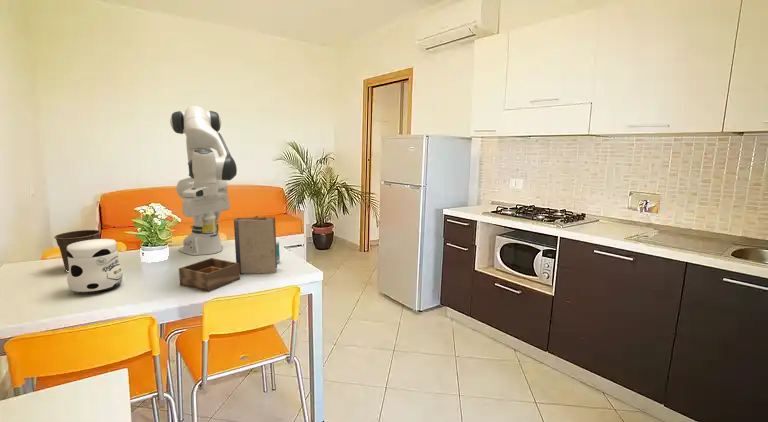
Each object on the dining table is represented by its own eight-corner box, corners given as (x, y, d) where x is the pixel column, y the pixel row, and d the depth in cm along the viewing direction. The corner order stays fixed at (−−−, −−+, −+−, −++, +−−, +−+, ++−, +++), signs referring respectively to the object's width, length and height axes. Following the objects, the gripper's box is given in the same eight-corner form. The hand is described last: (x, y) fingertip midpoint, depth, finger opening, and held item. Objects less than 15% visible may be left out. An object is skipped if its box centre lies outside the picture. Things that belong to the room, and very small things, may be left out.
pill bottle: (282, 260, 193) (281, 233, 190) (276, 265, 185) (275, 237, 183) (267, 260, 193) (266, 233, 191) (261, 264, 186) (259, 236, 184)
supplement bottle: (210, 232, 164) (209, 209, 163) (220, 233, 162) (218, 210, 160) (199, 235, 159) (197, 211, 158) (208, 236, 157) (206, 212, 155)
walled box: (180, 285, 159) (178, 268, 158) (212, 273, 173) (211, 258, 172) (208, 291, 152) (207, 274, 151) (240, 279, 166) (239, 263, 165)
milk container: (128, 289, 154) (123, 244, 151) (71, 301, 142) (65, 252, 139) (118, 277, 166) (114, 236, 163) (66, 287, 155) (60, 243, 151)
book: (277, 268, 181) (275, 214, 177) (275, 273, 174) (273, 217, 170) (238, 269, 178) (235, 215, 174) (235, 274, 172) (232, 218, 168)
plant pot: (50, 275, 168) (45, 238, 165) (72, 264, 183) (67, 230, 181) (93, 273, 171) (89, 237, 168) (111, 262, 186) (107, 229, 184)
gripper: (221, 187, 168) (223, 219, 171) (178, 192, 150) (181, 228, 152) (232, 188, 166) (234, 220, 168) (190, 193, 147) (192, 229, 150)
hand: (208, 224), depth 160 cm, fingers closed on supplement bottle, 5 cm apart
